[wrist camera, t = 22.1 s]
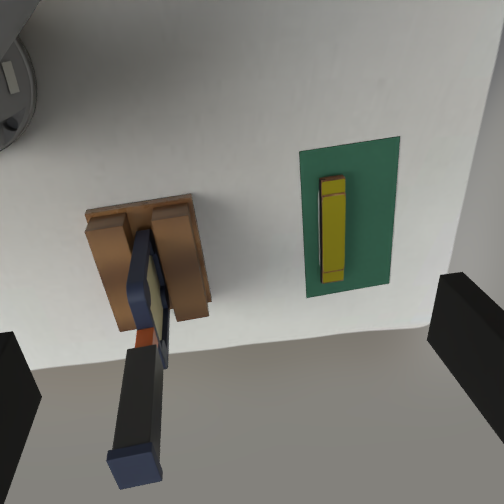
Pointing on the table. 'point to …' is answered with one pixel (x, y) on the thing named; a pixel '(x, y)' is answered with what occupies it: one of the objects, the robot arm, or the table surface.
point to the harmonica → (331, 228)
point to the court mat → (352, 211)
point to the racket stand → (168, 246)
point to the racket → (142, 371)
